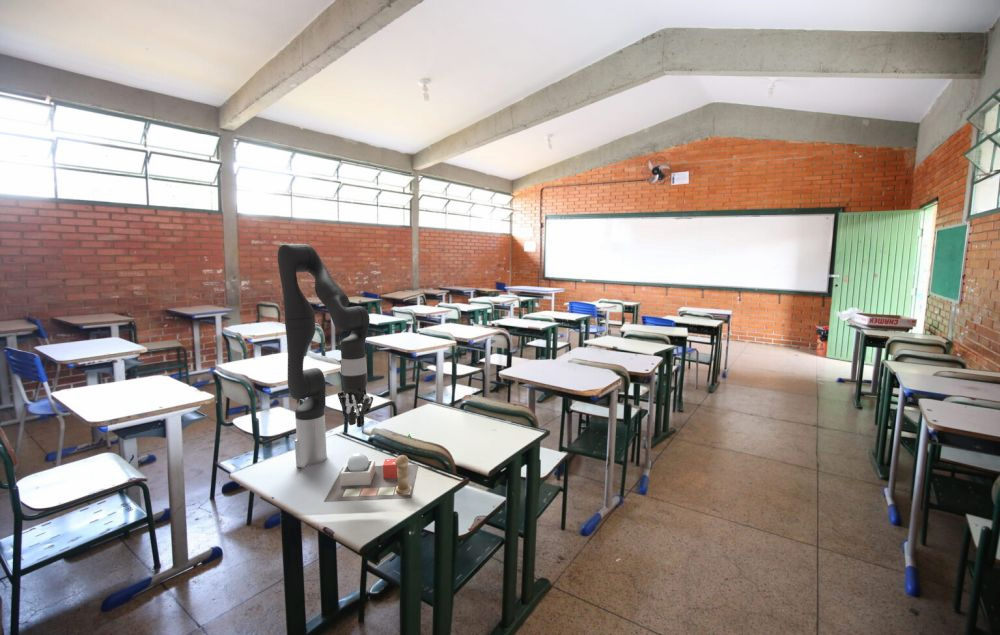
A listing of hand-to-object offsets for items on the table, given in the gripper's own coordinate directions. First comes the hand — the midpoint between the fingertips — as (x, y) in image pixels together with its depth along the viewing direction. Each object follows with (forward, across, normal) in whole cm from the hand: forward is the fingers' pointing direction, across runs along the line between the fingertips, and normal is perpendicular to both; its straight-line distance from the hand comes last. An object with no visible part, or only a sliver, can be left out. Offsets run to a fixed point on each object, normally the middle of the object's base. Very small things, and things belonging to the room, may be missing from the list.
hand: (356, 425), depth 146 cm
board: (+19, -6, -1) cm, 20 cm away
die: (+18, -7, -7) cm, 20 cm away
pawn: (+18, -17, -1) cm, 25 cm away
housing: (+18, 0, 0) cm, 18 cm away
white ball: (+16, 0, 0) cm, 16 cm away
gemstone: (+20, +4, -28) cm, 35 cm away
